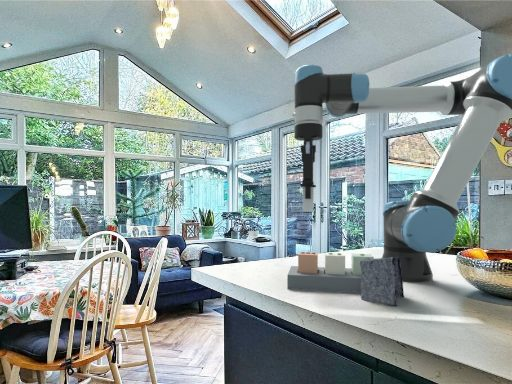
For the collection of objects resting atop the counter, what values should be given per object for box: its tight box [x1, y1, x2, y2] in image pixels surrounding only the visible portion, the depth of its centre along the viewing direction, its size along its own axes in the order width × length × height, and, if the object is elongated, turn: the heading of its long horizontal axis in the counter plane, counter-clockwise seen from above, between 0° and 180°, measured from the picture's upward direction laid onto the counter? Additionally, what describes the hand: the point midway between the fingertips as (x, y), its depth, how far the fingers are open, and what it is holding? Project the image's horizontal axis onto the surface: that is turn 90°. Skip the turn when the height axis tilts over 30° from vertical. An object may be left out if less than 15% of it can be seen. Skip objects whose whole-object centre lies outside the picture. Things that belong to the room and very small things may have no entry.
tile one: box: [351, 253, 375, 275], centre depth 91 cm, size 5×5×5 cm
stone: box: [360, 257, 405, 307], centre depth 80 cm, size 12×10×10 cm
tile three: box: [297, 251, 319, 274], centre depth 93 cm, size 5×5×5 cm
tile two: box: [324, 252, 346, 275], centre depth 92 cm, size 5×5×5 cm
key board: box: [286, 265, 362, 294], centre depth 92 cm, size 24×12×4 cm, turn 80°
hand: (308, 211), depth 93 cm, fingers open, 3 cm apart
